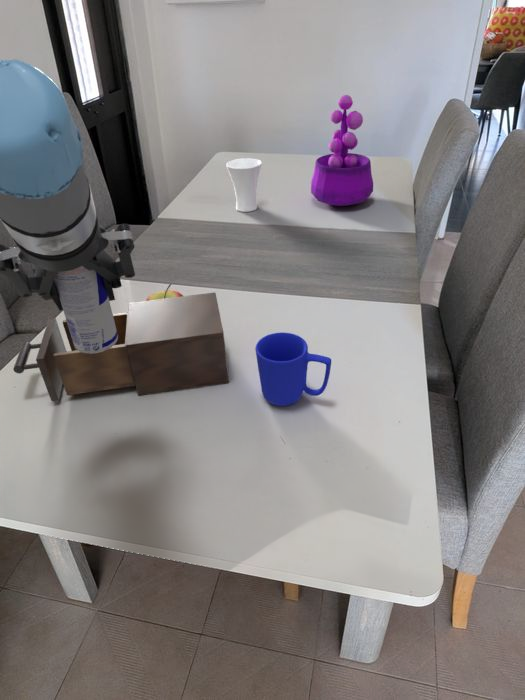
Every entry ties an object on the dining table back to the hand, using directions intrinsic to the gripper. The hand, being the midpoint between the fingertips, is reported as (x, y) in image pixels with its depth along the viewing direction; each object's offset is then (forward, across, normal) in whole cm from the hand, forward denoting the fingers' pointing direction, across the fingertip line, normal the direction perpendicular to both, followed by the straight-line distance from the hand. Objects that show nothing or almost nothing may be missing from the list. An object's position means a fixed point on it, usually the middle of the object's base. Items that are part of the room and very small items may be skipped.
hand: (85, 295), depth 68 cm
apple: (+35, +12, +1) cm, 38 cm away
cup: (+76, +48, +42) cm, 99 cm away
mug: (+15, +28, -19) cm, 37 cm away
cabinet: (+26, +12, -8) cm, 30 cm away
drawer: (+27, -5, -6) cm, 28 cm away
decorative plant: (+71, +76, +37) cm, 110 cm away
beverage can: (+1, 0, -6) cm, 7 cm away
